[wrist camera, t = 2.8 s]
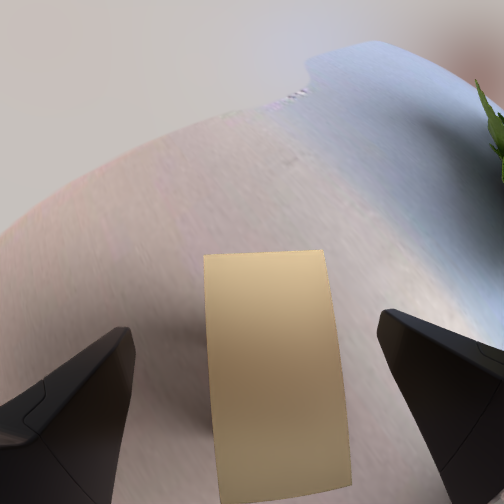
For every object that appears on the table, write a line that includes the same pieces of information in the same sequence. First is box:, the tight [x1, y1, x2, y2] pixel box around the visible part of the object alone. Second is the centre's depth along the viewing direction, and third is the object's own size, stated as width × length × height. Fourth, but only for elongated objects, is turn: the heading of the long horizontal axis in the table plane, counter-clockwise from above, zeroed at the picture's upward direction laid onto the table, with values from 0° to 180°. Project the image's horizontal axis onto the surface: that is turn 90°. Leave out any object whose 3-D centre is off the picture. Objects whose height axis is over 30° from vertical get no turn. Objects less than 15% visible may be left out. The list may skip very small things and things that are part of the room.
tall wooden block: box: [204, 250, 352, 504], centre depth 11 cm, size 6×3×10 cm, turn 5°
